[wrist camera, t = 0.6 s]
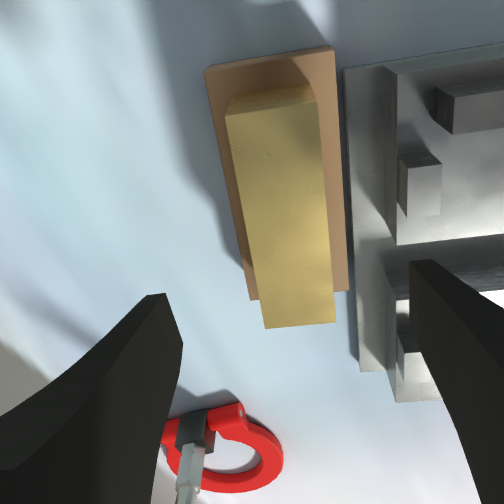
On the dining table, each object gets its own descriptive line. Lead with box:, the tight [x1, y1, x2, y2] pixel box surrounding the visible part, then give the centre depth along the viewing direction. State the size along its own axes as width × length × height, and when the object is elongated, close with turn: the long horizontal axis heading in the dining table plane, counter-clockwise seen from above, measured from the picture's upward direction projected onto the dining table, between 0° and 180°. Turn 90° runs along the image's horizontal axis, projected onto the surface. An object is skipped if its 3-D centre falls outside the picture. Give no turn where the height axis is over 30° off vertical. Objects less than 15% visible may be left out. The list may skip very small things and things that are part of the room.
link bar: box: [225, 83, 336, 329], centre depth 18 cm, size 3×9×4 cm, turn 9°
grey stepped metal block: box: [342, 42, 504, 403], centre depth 20 cm, size 10×17×5 cm, turn 9°
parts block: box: [204, 45, 349, 301], centre depth 20 cm, size 5×11×2 cm, turn 9°
